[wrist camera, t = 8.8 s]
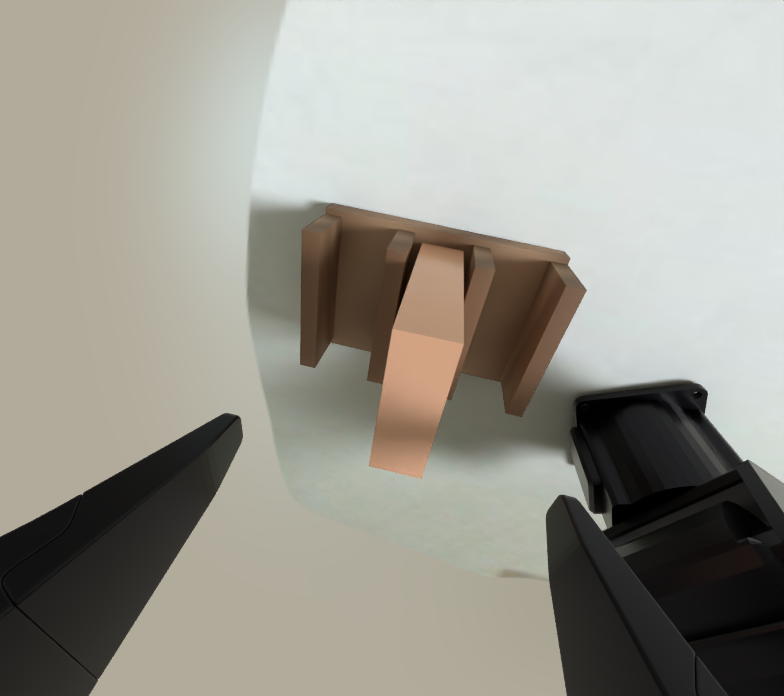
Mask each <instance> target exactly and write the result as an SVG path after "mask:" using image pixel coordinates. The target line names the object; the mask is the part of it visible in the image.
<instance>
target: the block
mask: <svg viewBox="0 0 784 696" xmlns="http://www.w3.org/2000/svg"><path fill="white" fill-rule="evenodd" d="M463 346H464V251H462V250H457V249H451V248H446V247H441V246H436V245H431V244H426V243H422V245H421V248H420V251H419V254H418V257H417V260H416V262H415V265H414V268H413V271H412V274H411V277H410V280H409V283H408V285H407V288H406V291H405V294H404V297H403V300H402V303H401V305H400V308H399V311H398V314H397V317H396V320H395V323H394V325H393V328H392V334H391V340H390V345H389V351H388V357H387V363H386V369H385V375H384V381H383V386H382V392H381V398H380V404H379V410H378V416H377V421H376V427H375V433H374V439H373V445H372V451H371V456H370V462H369V466H371V467H375V468H379V469H384V470H388V471H392V472H396V473H400V474H404V475H408V476H412V477H416V478H421V479H422V476H423V473H424V470H425V466H426V463H427V460H428V457H429V454H430V450H431V447H432V444H433V441H434V438H435V435H436V431H437V428H438V425H439V422H440V419H441V416H442V412H443V409H444V406H445V403H446V400H447V397H448V393H449V390H450V387H451V384H452V381H453V377H454V374H455V371H456V368H457V365H458V362H459V358H460V355H461V352H462V349H463Z"/></svg>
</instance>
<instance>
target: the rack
mask: <svg viewBox="0 0 784 696" xmlns="http://www.w3.org/2000/svg"><path fill="white" fill-rule="evenodd" d="M422 243H426V244H431V245H436V246H441V247H446V248H451V249H457V250H462V251H464V346H463V349H462V352H461V355H460V358H459V362H458V365H457V368H456V371H455V374H454V377H453V381H452V384H451V387H450V390H449V393H448V397H447V399H448V400H451V399H452V396H453V393H454V390H455V387H456V384H457V381H458V379H459V376H460V373H465V374H469V375H473V376H478V377H482V378H486V379H491V380H495V381H499V382H501V385H502V392H503V399H504V405H505V412H506V413H507V414H511V415H515V416H520V417H522V415H523V413H524V411H525V409H526V407H527V405H528V403H529V401H530V399H531V397H532V395H533V394H534V392H535V390H536V388H537V386H538V384H539V382H540V380H541V378H542V376H543V374H544V372H545V370H546V368H547V366H548V364H549V363H550V361H551V359H552V357H553V355H554V353H555V351H556V349H557V347H558V345H559V343H560V341H561V339H562V337H563V335H564V333H565V331H566V330H567V328H568V326H569V324H570V322H571V320H572V318H573V316H574V314H575V312H576V310H577V308H578V306H579V304H580V302H581V300H582V299H583V297H584V295H585V293H586V291H587V290H586V289H585V287H584V286H583V285H582V283H581V282H580V281H579V279H578V278H577V277H576V275H575V274H574V273H573V271H572V270H571V269H570V267H569V266H568V263H569V260H570V257H569V256H568V255H567V254H566V252H563V251H558V250H553V249H549V248H544V247H539V246H534V245H530V244H525V243H520V242H515V241H510V240H506V239H501V238H496V237H491V236H487V235H482V234H477V233H472V232H467V231H463V230H458V229H453V228H448V227H444V226H439V225H434V224H429V223H424V222H420V221H415V220H410V219H405V218H401V217H396V216H391V215H386V214H381V213H377V212H372V211H367V210H362V209H358V208H353V207H348V206H343V205H338V204H334V203H333V204H331V205H329V206H328V207H326V214H325V215H323V216H322V217H320V218H319V219H317V220H315V221H314V222H312V223H311V224H309V225H308V226H306V227H305V228H303V229H302V264H301V343H300V365H305V366H309V367H313V368H315V367H316V365H317V364H318V362H319V361H320V359H321V357H322V356H323V354H324V352H325V351H326V349H327V347H328V346H329V344H330V343H331V342H332V343H336V344H340V345H344V346H349V347H353V348H357V349H362V350H366V351H370V352H371V359H370V365H369V372H368V378H367V380H368V381H372V382H376V383H381V384H382V383H383V380H384V375H385V369H386V363H387V357H388V351H389V345H390V340H391V334H392V328H393V325H394V323H395V320H396V317H397V314H398V311H399V308H400V305H401V303H402V300H403V297H404V294H405V291H406V288H407V285H408V283H409V280H410V277H411V274H412V271H413V268H414V265H415V262H416V260H417V257H418V254H419V251H420V248H421V245H422Z"/></svg>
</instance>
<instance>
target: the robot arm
mask: <svg viewBox="0 0 784 696" xmlns="http://www.w3.org/2000/svg"><path fill="white" fill-rule="evenodd" d="M694 392H697V393H695V394H693V393H694ZM707 396H708V393H707V391H706V390H705V388H704V387H703V386H702V385H700V384H687V385H678V386H669V387H661V388H652V389H644V390H635V391H626V392H618V393H609V394H601V395H592V396H583V397H579V398H577V399H576V400H575V401H574V412H575V426H576V427H572V429H571V430H570V442H571V454H572V459H573V462H574V465H575V468H576V471H577V474H578V477H579V480H580V483H581V487H582V490H583V493H584V496H585V499H586V502H587V505H588V508H589V510H590V511H591V512H592V513H594V514H602V515H603V518H604V521H605V524H606V526H607V529H605V530H603V531H601V529H600V528H599V527H598V525H597V524H596V523H595V521H594V520H593V519H592V517H591V516H590V515H589V514H588V512H587V511H586V510H585V508H584V507H583V506H582V504H581V503H580V502H579V501H578V500H577V499H576V498H574V497H570V496H566V495H559V496H558V497H557V498H556V500H555V501H554V502H553V504H552V505H551V507H550V508H549V509H548V511H547V514H546V533H547V553H548V571H549V582H550V589H551V596H552V602H553V609H554V615H555V622H556V628H557V635H558V641H559V648H560V654H561V661H562V667H563V673H564V680H565V687H566V693H567V696H784V483H782V482H781V481H779V480H778V479H776V478H775V477H774V476H772V475H771V474H769V473H768V472H766V471H765V470H763V469H762V468H760V467H759V466H757V465H756V464H754V463H753V462H751V461H750V460H746V461H743V460H742V459H741V458H740V457H739V456H738V454H737V453H736V452H735V451H734V450H733V448H732V447H731V446H730V445H729V444H728V442H727V441H726V440H725V439H724V438H723V436H722V435H721V434H720V433H719V432H718V430H717V429H716V428H715V427H714V426H713V424H712V423H711V422H710V421H709V420H708V418H707V417H706V416H705V415H704V414H705V408H706V402H707ZM583 404H587V405H585V406H582V405H583ZM242 438H243V433H242V425H241V418H240V417H239V416H237V415H233V414H229V413H225V414H222V415H220V416H218V417H217V418H215V419H213V420H211V421H210V422H208V423H206V424H204V425H202V426H201V427H199V428H197V429H195V430H194V431H192V432H190V433H188V434H187V435H185V436H183V437H182V438H180V439H178V440H176V441H174V442H172V443H171V444H169V445H167V446H165V447H164V448H162V449H160V450H158V451H156V452H155V453H153V454H151V455H149V456H148V457H146V458H144V459H142V460H140V461H139V462H137V463H135V464H133V465H131V466H130V467H128V468H126V469H124V470H123V471H121V472H119V473H117V474H115V475H114V476H112V477H110V478H108V479H107V480H105V481H103V482H101V483H100V484H98V485H96V486H94V487H92V488H91V489H89V490H87V491H85V492H84V493H83V495H78V496H76V497H75V498H73V499H71V500H69V501H67V502H66V503H64V504H62V505H60V506H58V507H57V508H55V509H53V510H51V511H49V512H47V513H46V514H44V515H42V516H40V517H39V518H36V519H34V520H33V521H31V522H29V523H27V524H25V525H23V526H21V527H19V528H17V529H15V530H13V531H11V532H9V533H7V534H5V535H3V536H1V537H0V696H89V694H90V693H91V691H92V690H93V688H94V686H95V685H96V683H97V681H98V679H99V678H100V676H101V675H102V673H103V672H104V670H105V668H106V667H107V665H108V664H109V662H110V660H111V659H112V657H113V656H114V654H115V653H116V651H117V649H118V648H119V646H120V645H121V643H122V642H123V640H124V639H125V637H126V635H127V634H128V632H129V630H130V629H131V627H132V626H133V624H134V622H135V621H136V620H137V618H138V616H139V615H140V613H141V612H142V610H143V608H144V607H145V605H146V604H147V602H148V600H149V599H150V597H151V596H152V594H153V593H154V591H155V589H156V588H157V586H158V585H159V583H160V582H161V580H162V578H163V577H164V575H165V573H166V572H167V570H168V569H169V567H170V565H171V564H172V563H173V561H174V559H175V558H176V556H177V555H178V553H179V551H180V550H181V548H182V547H183V545H184V543H185V542H186V540H187V539H188V537H189V535H190V534H191V533H192V531H193V529H194V528H195V526H196V525H197V523H198V521H199V520H200V518H201V517H202V515H203V513H204V512H205V510H206V509H207V507H208V506H209V504H210V502H211V501H212V499H213V498H214V496H215V494H216V492H217V491H218V488H219V487H220V485H221V483H222V481H223V479H224V477H225V475H226V473H227V471H228V469H229V467H230V464H231V462H232V460H233V458H234V457H235V454H236V452H237V450H238V448H239V446H240V444H241V441H242Z"/></svg>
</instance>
